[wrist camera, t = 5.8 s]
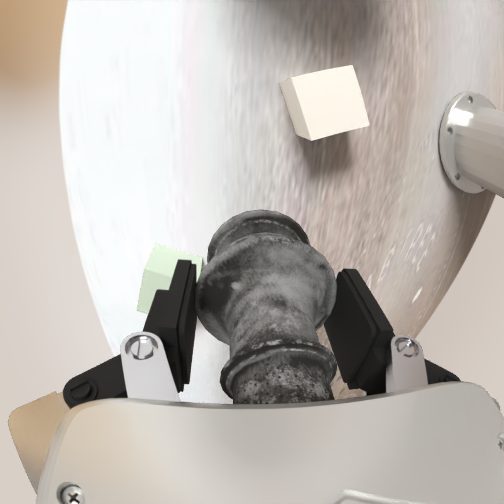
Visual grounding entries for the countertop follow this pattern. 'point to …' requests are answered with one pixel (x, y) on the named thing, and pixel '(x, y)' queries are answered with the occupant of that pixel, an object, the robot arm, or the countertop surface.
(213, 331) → the salt shaker
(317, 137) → the cream painted cube
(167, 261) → the sage painted cube
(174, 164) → the countertop surface
